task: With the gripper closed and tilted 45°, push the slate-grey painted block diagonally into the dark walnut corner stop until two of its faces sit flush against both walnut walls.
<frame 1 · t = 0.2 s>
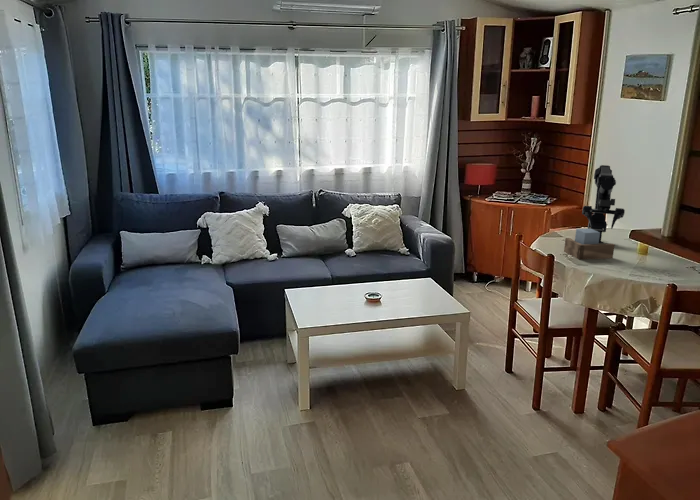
hand: (601, 227, 274), 15 cm above the table, tool tilted 35°, fingers open, 9 cm apart
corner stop: (579, 258, 274), on the table
slate block: (584, 253, 283), on the table
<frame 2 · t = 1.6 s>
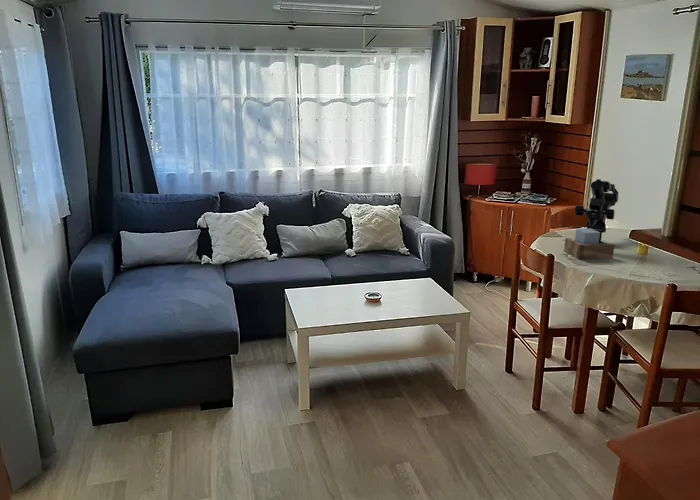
hand: (591, 225, 287), 13 cm above the table, tool tilted 45°, fingers closed
nothing on the table moved.
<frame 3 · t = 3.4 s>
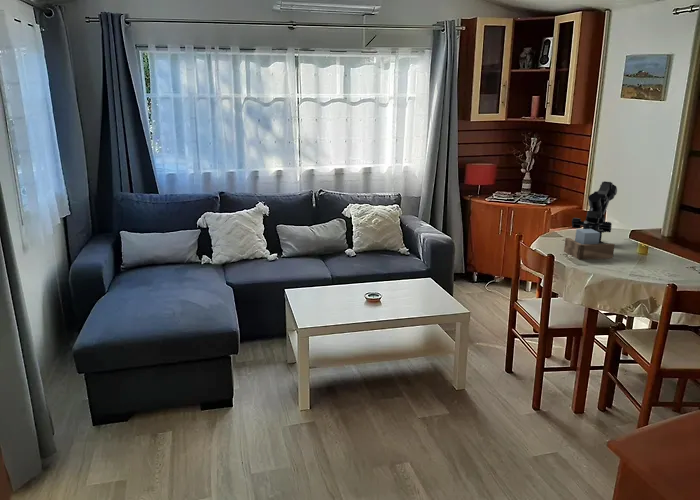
hand: (588, 238, 285), 7 cm above the table, tool tilted 45°, fingers closed
slate block: (584, 254, 282), on the table, touching gripper
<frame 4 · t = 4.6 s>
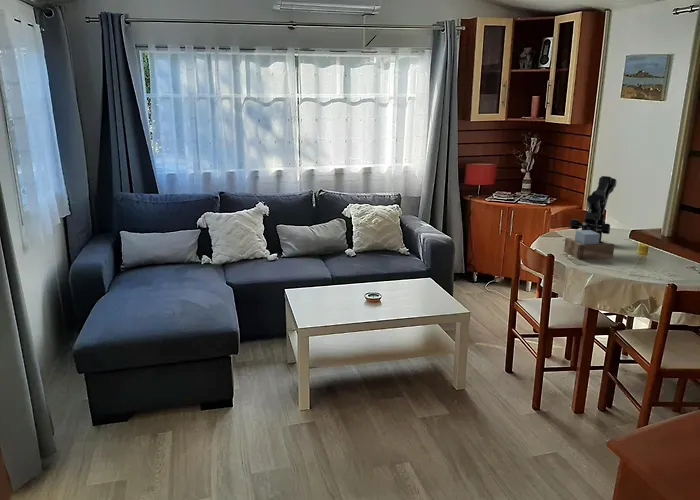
hand: (586, 240, 282), 7 cm above the table, tool tilted 45°, fingers closed
slate block: (584, 255, 280), on the table, touching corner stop, gripper
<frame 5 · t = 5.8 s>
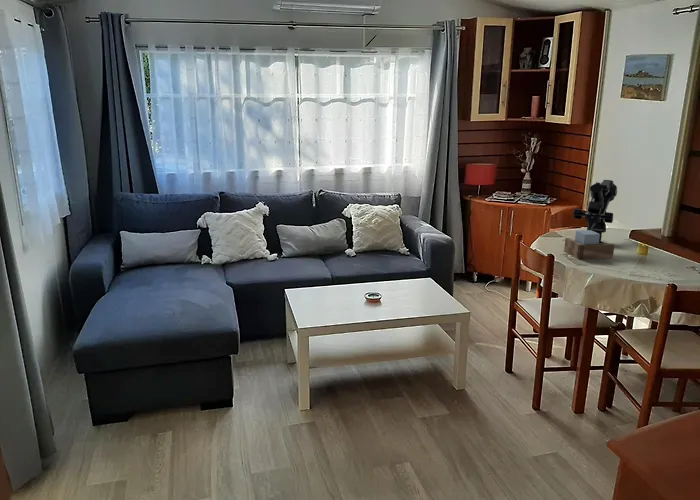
hand: (589, 229, 284), 12 cm above the table, tool tilted 45°, fingers closed
slate block: (584, 255, 280), on the table
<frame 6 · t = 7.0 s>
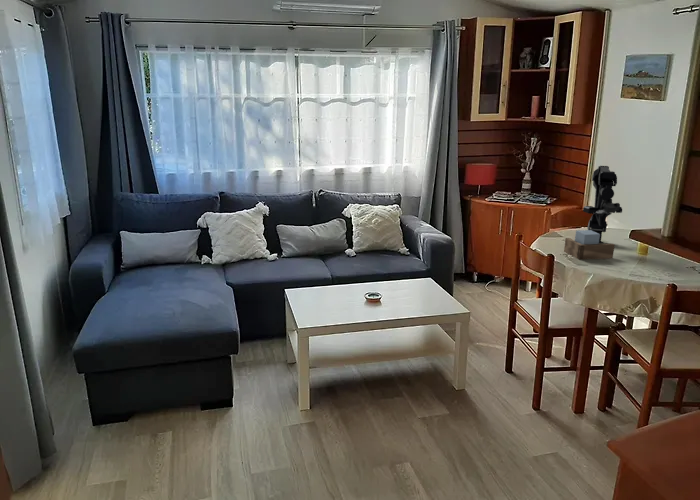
hand: (600, 225, 290), 12 cm above the table, tool pointing down, fingers closed
nothing on the table moved.
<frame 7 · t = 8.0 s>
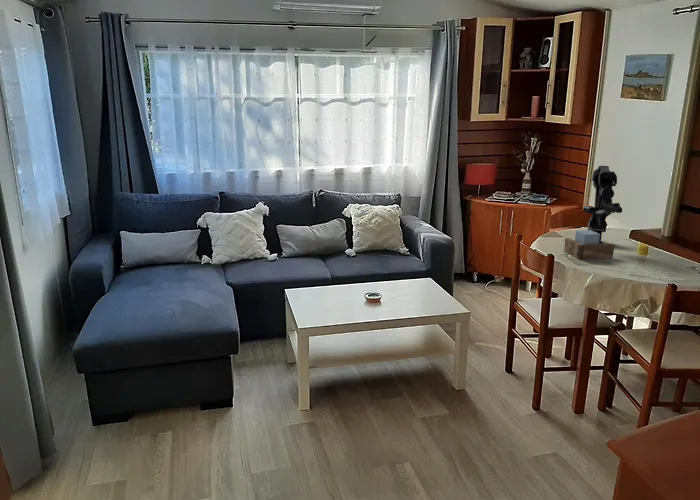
hand: (600, 225, 290), 12 cm above the table, tool pointing down, fingers closed
nothing on the table moved.
at the end: slate block 0.4 cm from the target spot on the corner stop, point 0.0 cm above the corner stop's base; slate block tilted 0° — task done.
